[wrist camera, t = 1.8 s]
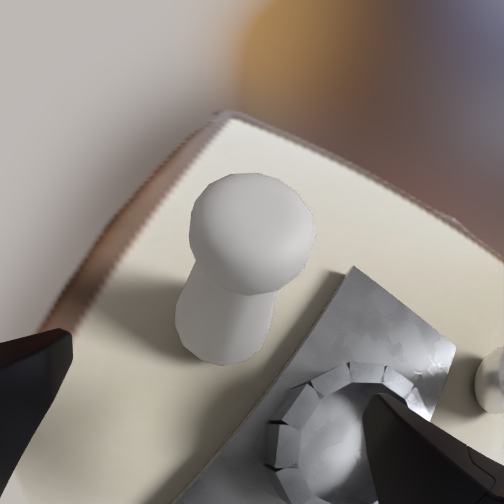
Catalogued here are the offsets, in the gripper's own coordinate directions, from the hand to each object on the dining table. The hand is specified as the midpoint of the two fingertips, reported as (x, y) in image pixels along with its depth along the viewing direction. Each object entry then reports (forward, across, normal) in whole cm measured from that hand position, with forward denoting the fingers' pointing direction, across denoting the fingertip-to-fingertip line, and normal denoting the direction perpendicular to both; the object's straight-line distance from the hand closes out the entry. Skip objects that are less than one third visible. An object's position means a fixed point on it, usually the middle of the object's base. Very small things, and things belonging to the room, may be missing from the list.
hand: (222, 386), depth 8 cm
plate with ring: (+7, -9, +10) cm, 15 cm away
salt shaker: (+12, 0, +5) cm, 13 cm away
